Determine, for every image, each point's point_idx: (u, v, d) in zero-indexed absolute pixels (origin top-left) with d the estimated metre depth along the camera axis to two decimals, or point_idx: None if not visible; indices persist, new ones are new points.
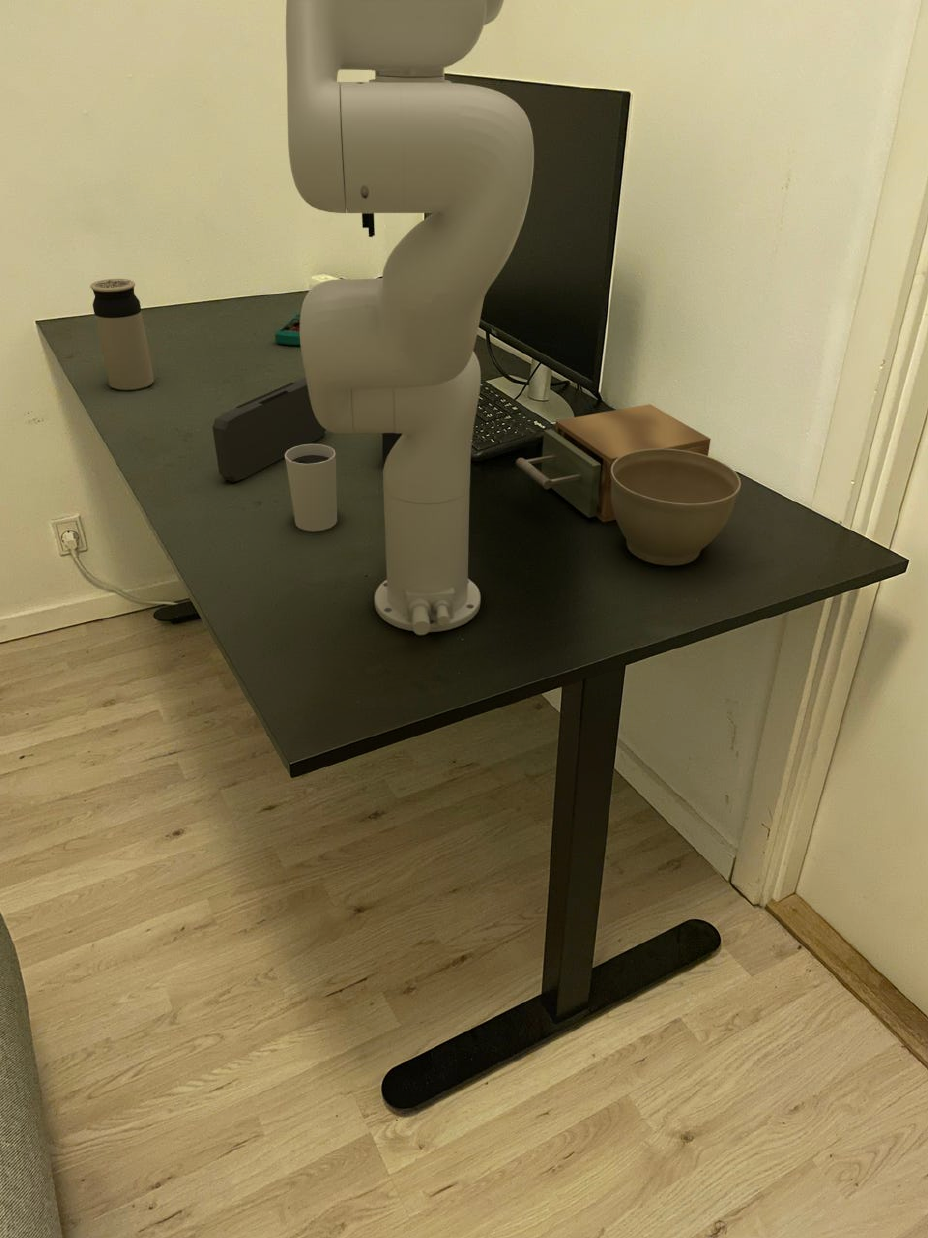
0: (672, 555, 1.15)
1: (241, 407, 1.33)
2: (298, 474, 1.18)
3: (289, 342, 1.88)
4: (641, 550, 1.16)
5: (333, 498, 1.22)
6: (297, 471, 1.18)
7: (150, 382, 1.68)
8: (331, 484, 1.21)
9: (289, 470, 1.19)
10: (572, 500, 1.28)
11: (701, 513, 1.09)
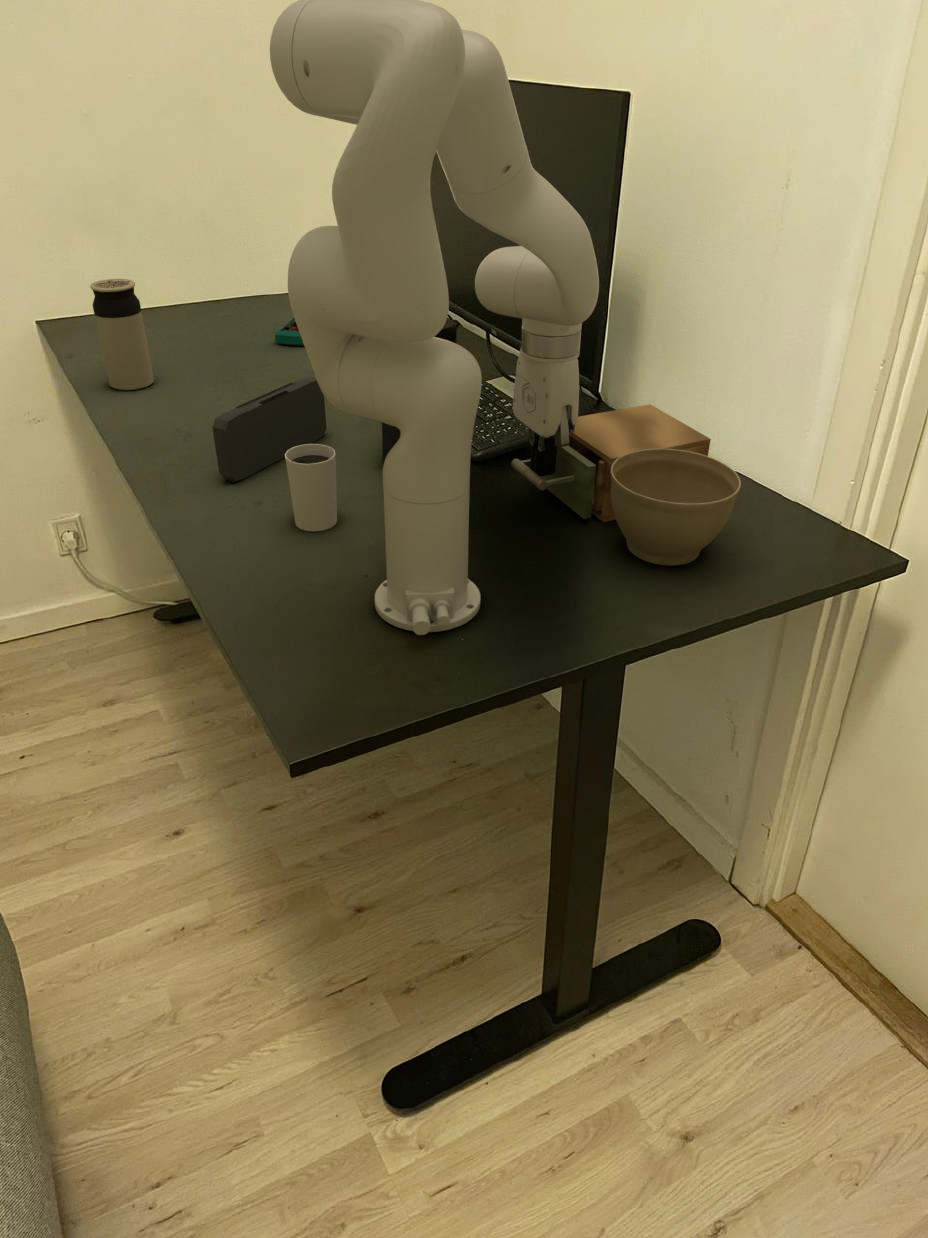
0: (672, 555, 1.15)
1: (241, 407, 1.33)
2: (298, 474, 1.18)
3: (289, 342, 1.88)
4: (641, 550, 1.16)
5: (333, 498, 1.22)
6: (297, 471, 1.18)
7: (150, 382, 1.68)
8: (331, 484, 1.21)
9: (289, 470, 1.19)
10: (567, 501, 1.28)
11: (701, 513, 1.09)
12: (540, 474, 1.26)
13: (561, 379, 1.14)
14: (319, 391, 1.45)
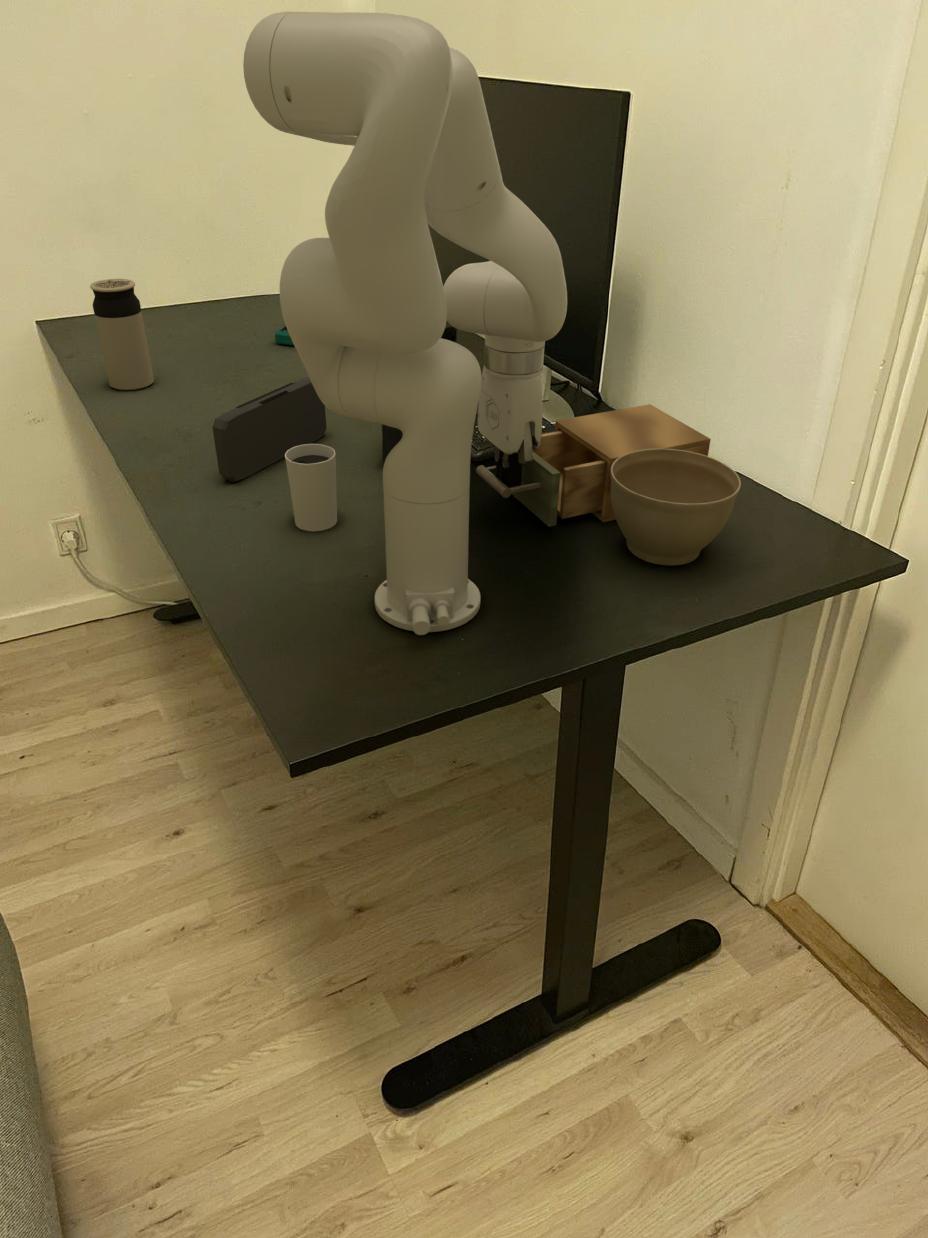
0: (672, 555, 1.15)
1: (241, 407, 1.33)
2: (298, 474, 1.18)
3: (289, 342, 1.88)
4: (641, 550, 1.16)
5: (333, 498, 1.22)
6: (297, 471, 1.18)
7: (150, 382, 1.68)
8: (331, 484, 1.21)
9: (289, 470, 1.19)
10: (533, 508, 1.26)
11: (701, 513, 1.09)
12: None
13: (523, 395, 1.13)
14: None
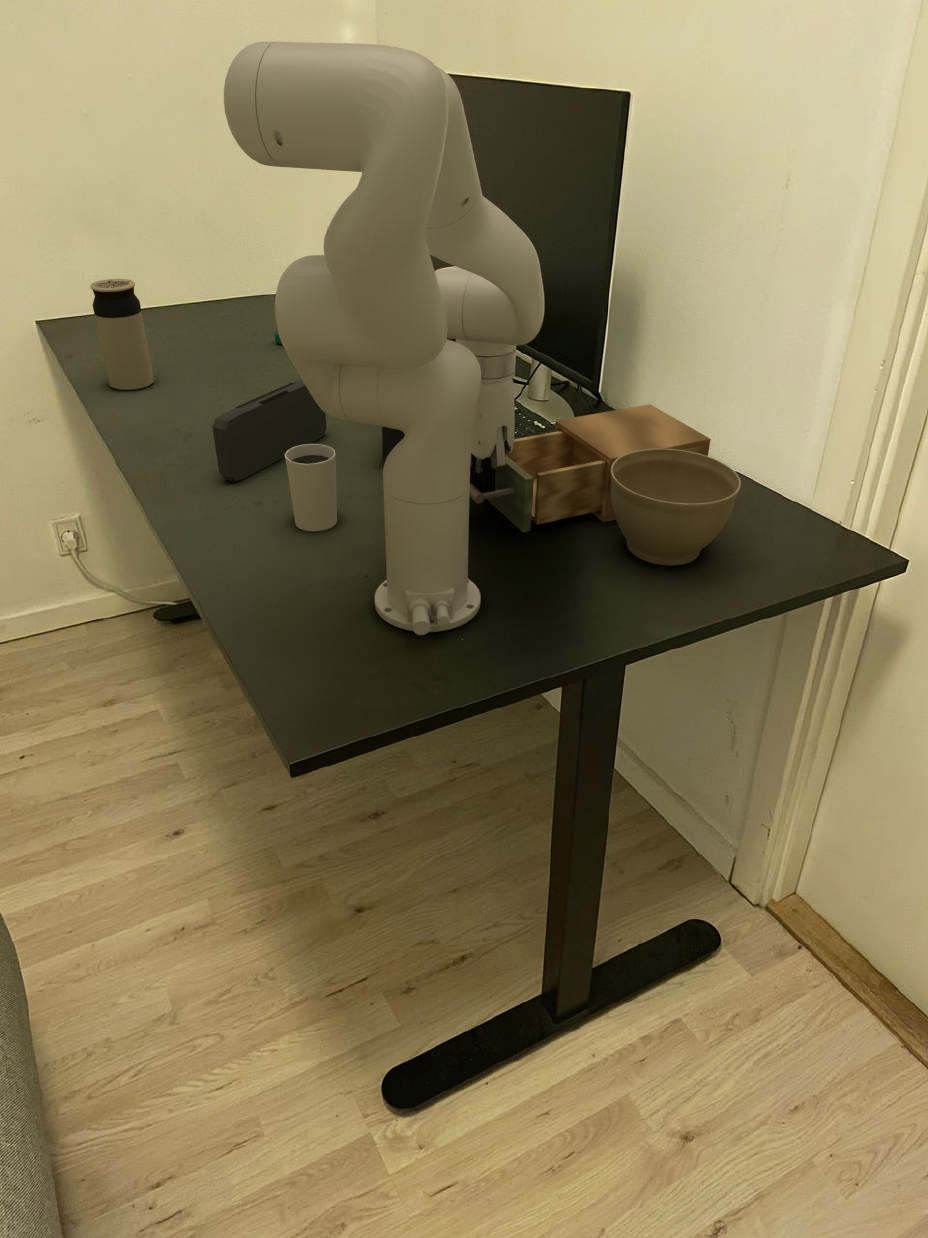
0: (672, 555, 1.15)
1: (241, 407, 1.33)
2: (298, 474, 1.18)
3: None
4: (641, 550, 1.16)
5: (333, 498, 1.22)
6: (297, 471, 1.18)
7: (150, 382, 1.68)
8: (331, 484, 1.21)
9: (289, 470, 1.19)
10: (507, 514, 1.25)
11: (701, 513, 1.09)
12: None
13: (495, 400, 1.12)
14: None
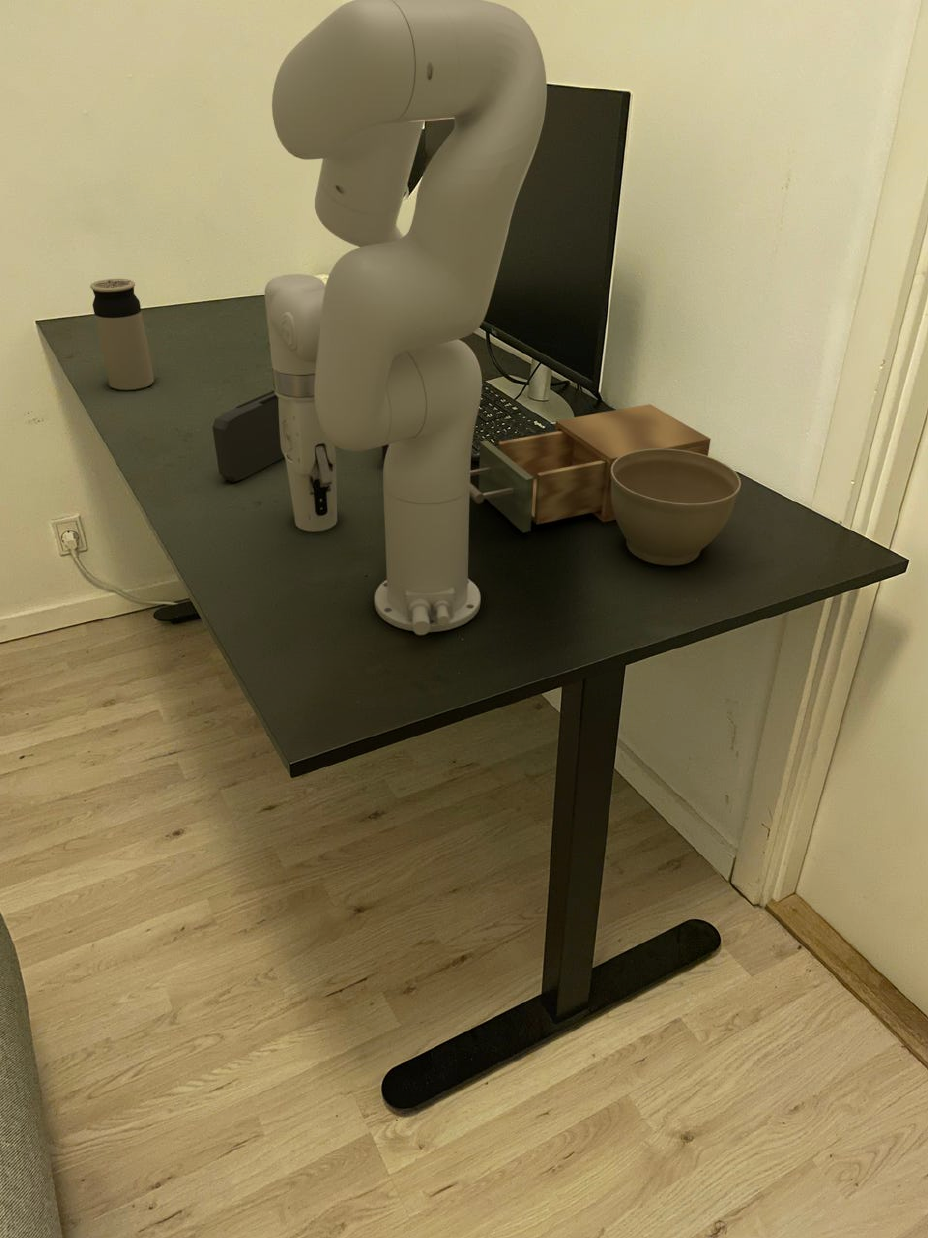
0: (672, 555, 1.15)
1: (241, 407, 1.33)
2: None
3: None
4: (641, 550, 1.16)
5: (333, 498, 1.22)
6: None
7: (150, 382, 1.68)
8: (331, 484, 1.21)
9: (289, 470, 1.19)
10: (507, 514, 1.25)
11: (701, 513, 1.09)
12: None
13: (310, 418, 1.12)
14: None
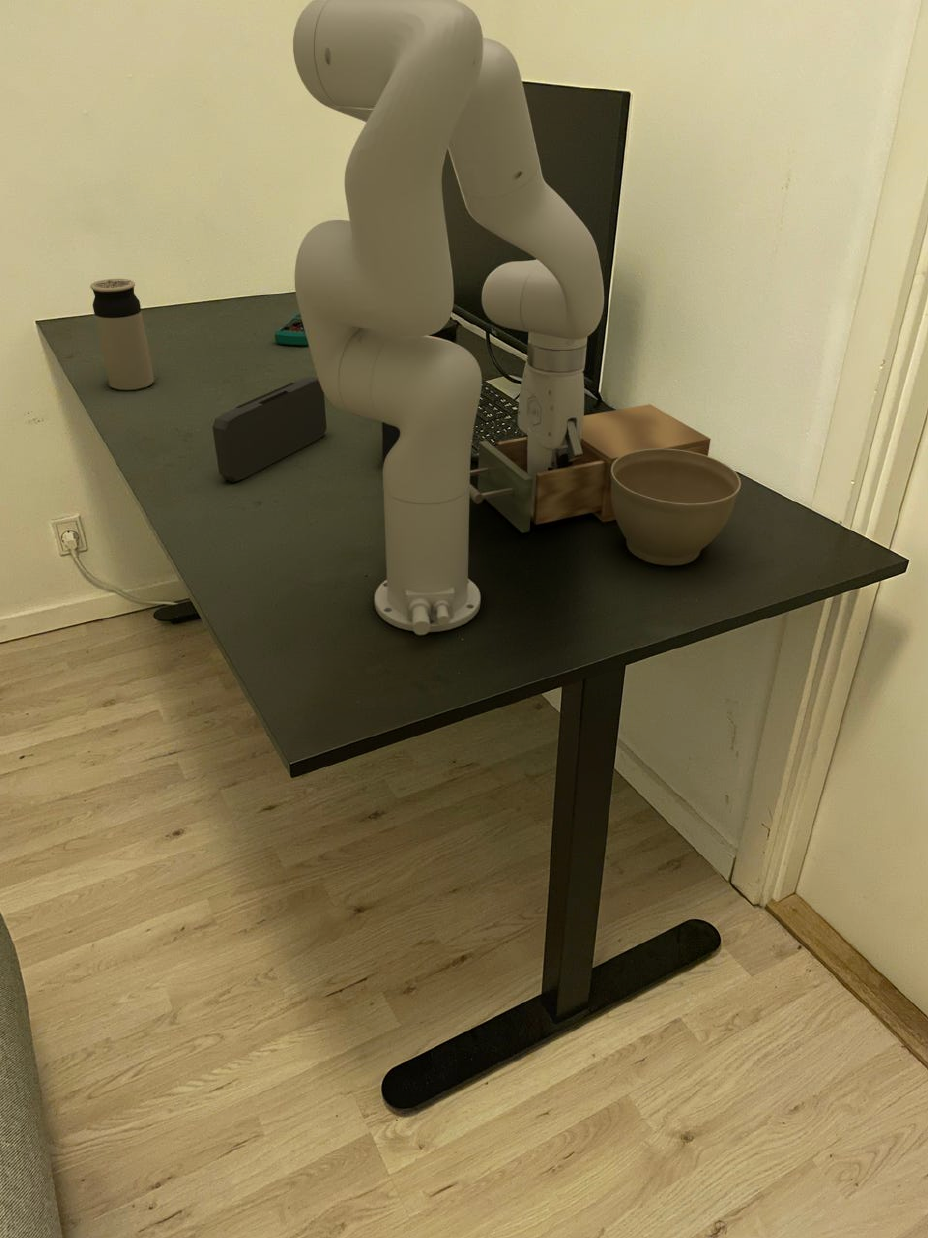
0: (672, 555, 1.15)
1: (241, 407, 1.33)
2: None
3: (289, 342, 1.88)
4: (641, 550, 1.16)
5: None
6: None
7: (150, 382, 1.68)
8: None
9: (533, 444, 1.23)
10: (506, 514, 1.25)
11: (701, 513, 1.09)
12: None
13: (567, 392, 1.16)
14: (319, 391, 1.45)
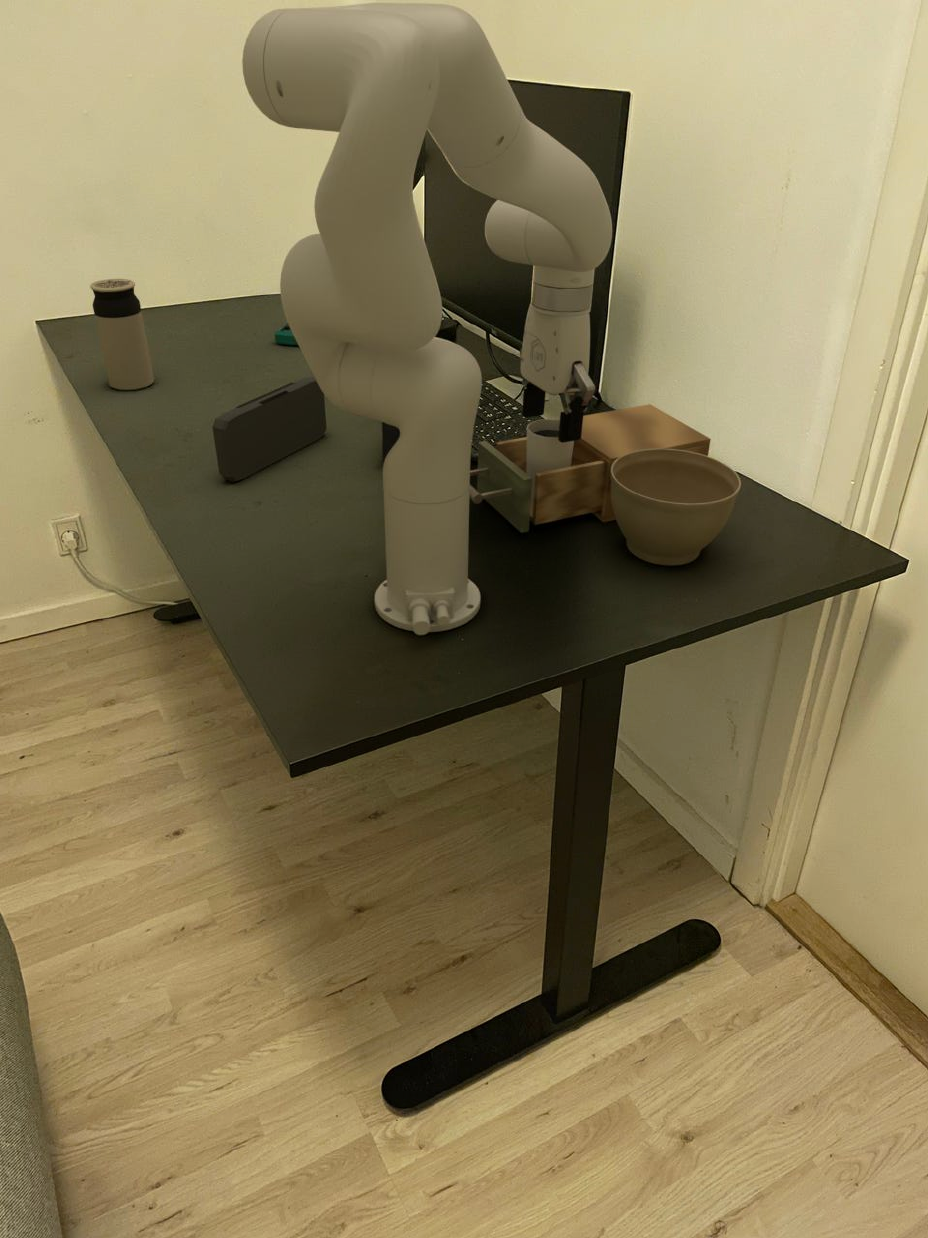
0: (672, 555, 1.15)
1: (241, 407, 1.33)
2: (543, 447, 1.22)
3: (289, 342, 1.88)
4: (641, 550, 1.16)
5: None
6: (542, 444, 1.21)
7: (150, 382, 1.68)
8: (570, 458, 1.24)
9: (532, 444, 1.22)
10: (506, 514, 1.25)
11: (701, 513, 1.09)
12: (565, 439, 1.19)
13: (572, 333, 1.11)
14: (319, 391, 1.45)
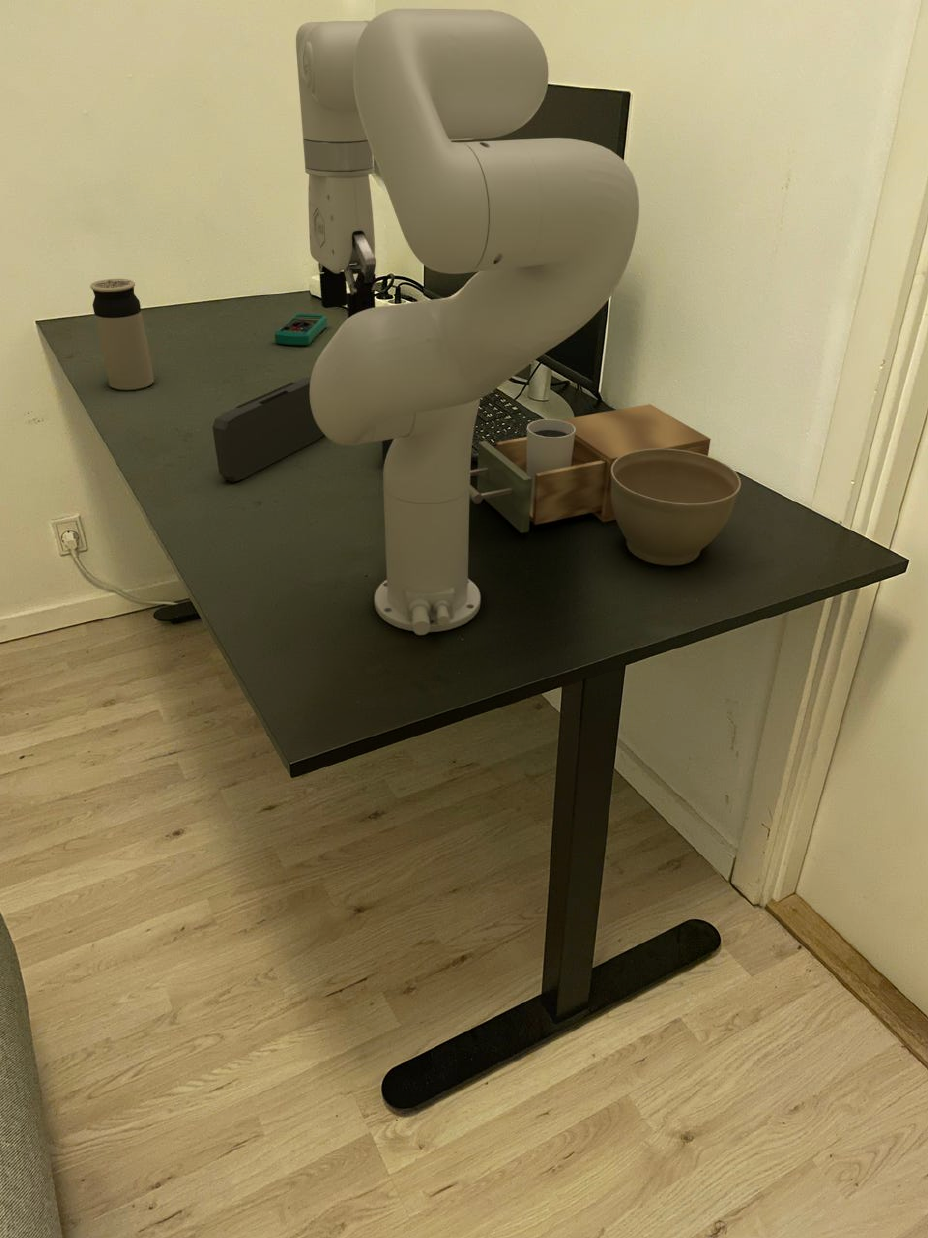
0: (672, 555, 1.15)
1: (241, 407, 1.33)
2: (543, 447, 1.22)
3: (289, 342, 1.88)
4: (641, 550, 1.16)
5: None
6: (542, 444, 1.21)
7: (150, 382, 1.68)
8: (570, 458, 1.24)
9: (532, 444, 1.22)
10: (506, 514, 1.25)
11: (701, 513, 1.09)
12: None
13: (347, 196, 0.97)
14: None
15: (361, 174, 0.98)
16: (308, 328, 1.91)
